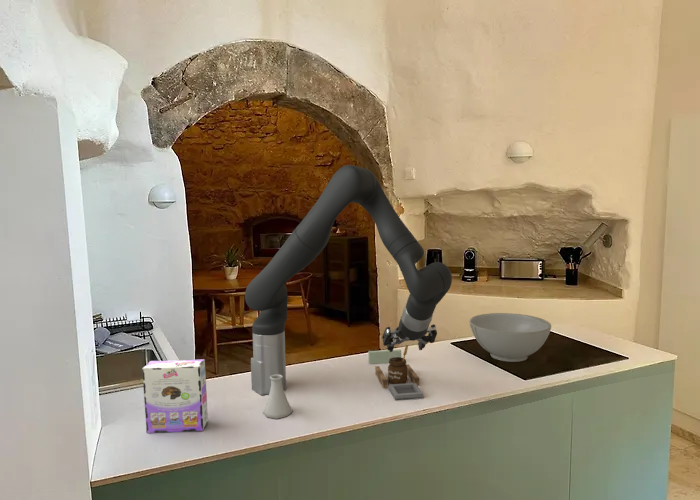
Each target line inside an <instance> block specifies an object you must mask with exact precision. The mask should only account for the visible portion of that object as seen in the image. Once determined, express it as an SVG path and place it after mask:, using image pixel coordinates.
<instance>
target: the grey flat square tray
mask: <svg viewBox="0 0 700 500" xmlns="http://www.w3.org/2000/svg"><path fill="white" fill-rule="evenodd" d="M388 391H389V393H390V394H391V395H392V397H393V399H394V401H404V400H406V401H407V400H416V399H424V392H423V391H422V390H421V387H420V386H417V384H416V383H413V382H410V383H409V382H407V383H406V384H388Z"/></svg>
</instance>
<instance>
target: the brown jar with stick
mask: <svg viewBox="0 0 700 500" xmlns="http://www.w3.org/2000/svg"><path fill="white" fill-rule="evenodd" d="M408 347H409V344H407V345H405V347H404V351H403V357H402V356H401V357H397V356H396V357H393V358H390V359H389V363H388V367H387V383H389V385H392V384H406V383H408V378H409V377H408V373H407V366H406V364H407V359H406V355H407V354H408ZM394 349H397V348H396V346H394ZM389 352H390V351H389ZM396 352H397V351H396ZM389 355H390V354H389ZM392 355H393V354H392ZM392 355H390V356H392Z"/></svg>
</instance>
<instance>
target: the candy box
mask: <svg viewBox="0 0 700 500" xmlns="http://www.w3.org/2000/svg"><path fill="white" fill-rule="evenodd" d="M141 373H142V385H143V399H144V401H143V402H144V411H145V412H144V414H145V426H146V427H145V429H146V430H145V432H146V434H155V433H177V432H178V433H181V432H202V431H204V429H205V428H206V426H207V424H208V422H209V413H208V395H207V393H208V392H207V378H206V377H207V376H206V375H207V374H206V359H204V358H203V359H178V360H177V359H176V360H150V361H149V362H148V363H146V365H144V366H143V367H142V369H141Z"/></svg>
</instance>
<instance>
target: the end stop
mask: <svg viewBox="0 0 700 500" xmlns="http://www.w3.org/2000/svg"><path fill="white" fill-rule="evenodd" d="M396 351H397V352H396ZM367 353H368V354H367V355H368V360H367V361H368V365H377V364H389V359H390V358H393V357H396V356H397V357H401V358H402V349H399V348H398V349H397V348H396V349H393V351H392V352H389V350H388V349H381V350H368V352H367ZM389 354H390V355H392V354H393V355H392V356H390V355H389Z"/></svg>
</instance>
